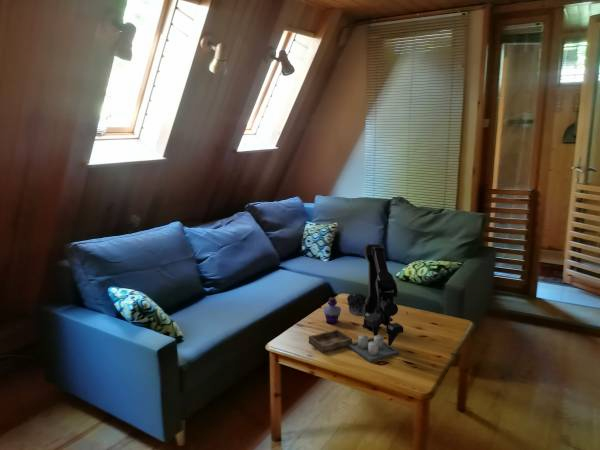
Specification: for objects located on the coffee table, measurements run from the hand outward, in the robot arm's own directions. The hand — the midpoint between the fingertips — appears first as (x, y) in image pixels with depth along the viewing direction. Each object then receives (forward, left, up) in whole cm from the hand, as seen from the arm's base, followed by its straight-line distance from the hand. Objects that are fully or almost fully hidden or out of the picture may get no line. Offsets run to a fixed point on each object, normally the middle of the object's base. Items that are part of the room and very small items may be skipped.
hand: (382, 341), depth 196 cm
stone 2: (+8, +4, -2) cm, 9 cm away
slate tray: (+5, 0, -3) cm, 6 cm away
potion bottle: (+4, -32, -3) cm, 33 cm away
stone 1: (+8, -3, -2) cm, 9 cm away
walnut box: (+18, -13, -3) cm, 22 cm away
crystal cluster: (-16, -37, -3) cm, 41 cm away
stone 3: (+2, 0, -2) cm, 3 cm away
